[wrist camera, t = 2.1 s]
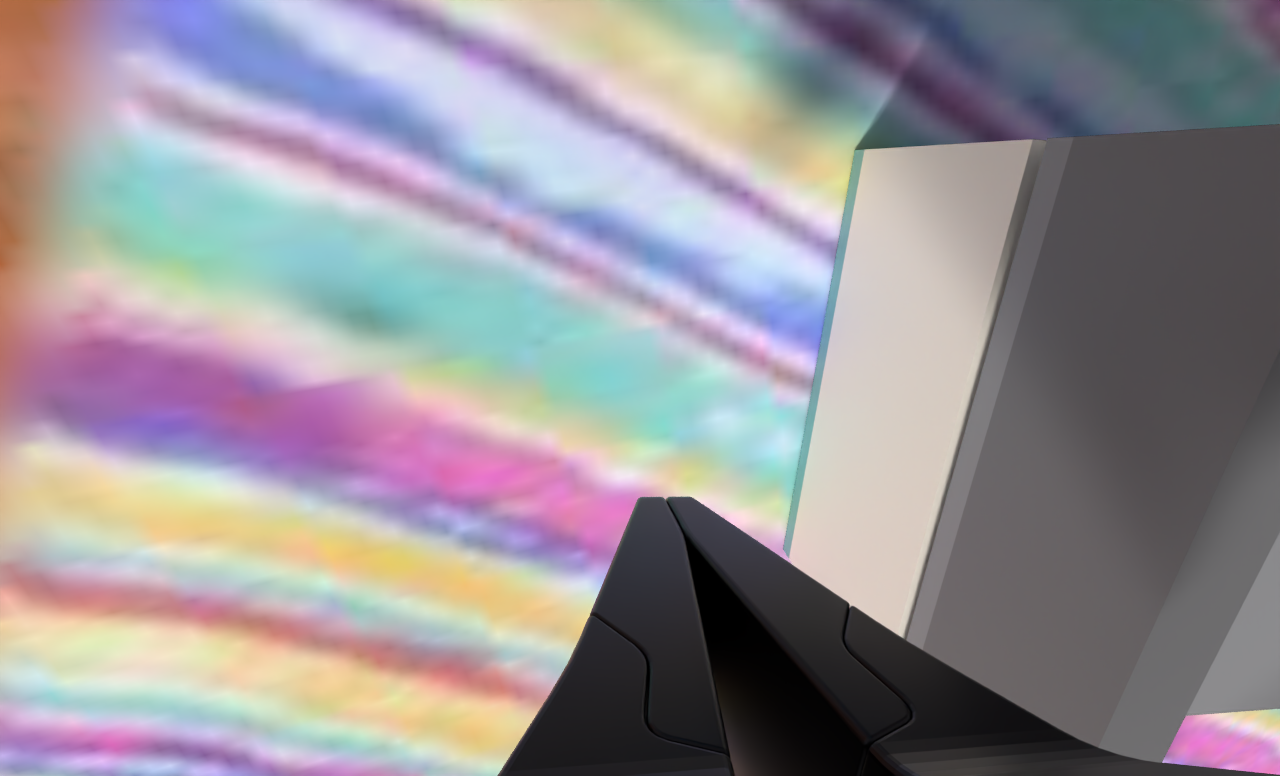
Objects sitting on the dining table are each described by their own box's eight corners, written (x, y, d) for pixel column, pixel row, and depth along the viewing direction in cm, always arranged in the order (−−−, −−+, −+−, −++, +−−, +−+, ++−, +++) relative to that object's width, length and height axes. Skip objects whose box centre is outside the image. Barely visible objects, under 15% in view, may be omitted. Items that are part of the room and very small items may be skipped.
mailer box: (1154, 540, 21) (1369, 673, 16) (782, 549, 19) (877, 706, 13) (1305, 188, 17) (1669, 198, 12) (854, 150, 15) (1032, 138, 9)
